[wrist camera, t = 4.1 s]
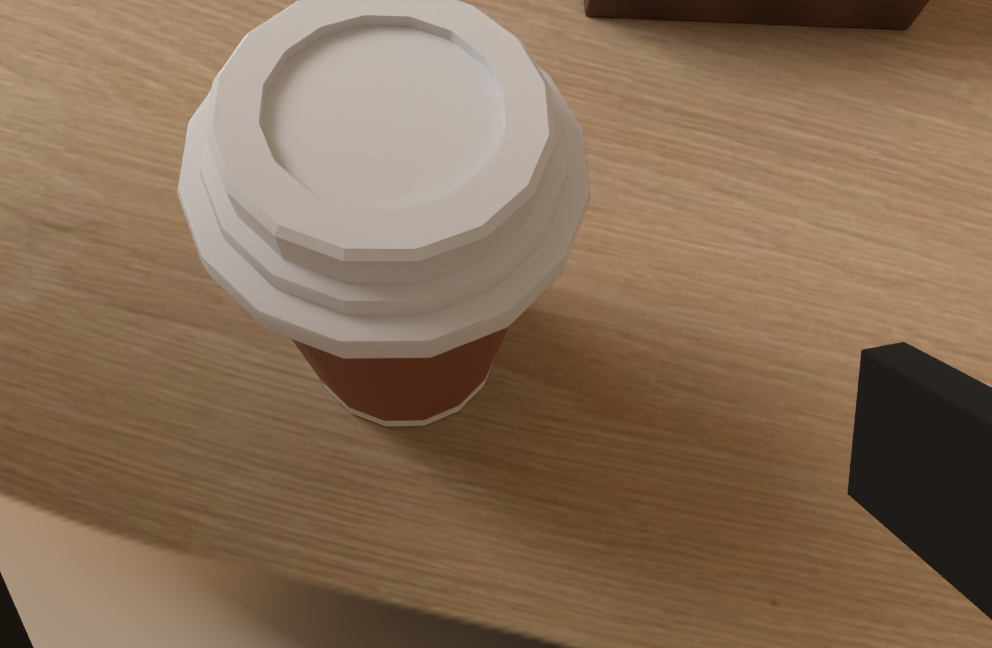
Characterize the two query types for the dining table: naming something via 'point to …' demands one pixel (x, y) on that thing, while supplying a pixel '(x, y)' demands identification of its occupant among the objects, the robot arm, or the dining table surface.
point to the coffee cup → (385, 194)
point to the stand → (768, 11)
